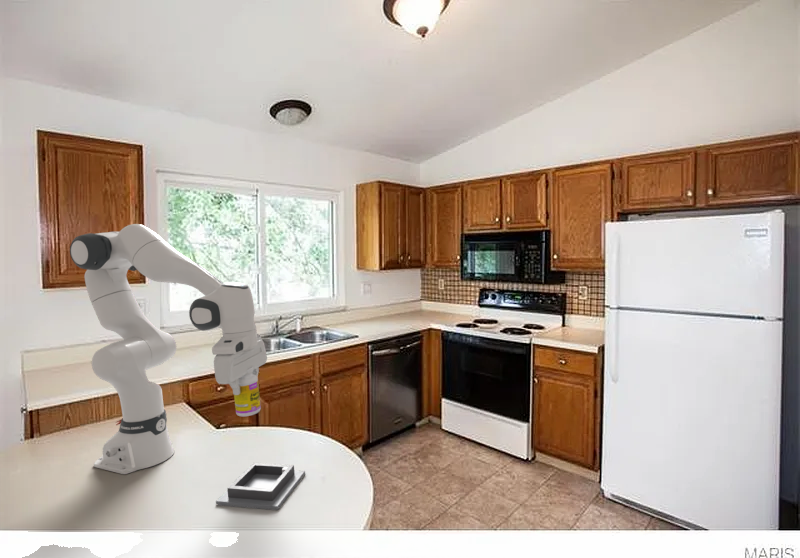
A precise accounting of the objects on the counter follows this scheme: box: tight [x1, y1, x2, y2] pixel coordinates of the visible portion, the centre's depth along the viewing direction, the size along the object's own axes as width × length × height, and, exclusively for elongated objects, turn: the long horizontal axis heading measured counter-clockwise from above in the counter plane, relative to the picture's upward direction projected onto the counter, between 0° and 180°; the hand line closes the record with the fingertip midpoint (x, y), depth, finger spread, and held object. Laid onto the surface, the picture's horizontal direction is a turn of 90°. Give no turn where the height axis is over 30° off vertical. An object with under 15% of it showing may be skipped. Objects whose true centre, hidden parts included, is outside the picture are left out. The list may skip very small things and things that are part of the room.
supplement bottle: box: [233, 367, 262, 417], centre depth 117 cm, size 7×7×13 cm
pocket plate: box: [215, 462, 306, 511], centre depth 112 cm, size 17×16×4 cm
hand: (246, 388), depth 117 cm, fingers closed on supplement bottle, 7 cm apart
